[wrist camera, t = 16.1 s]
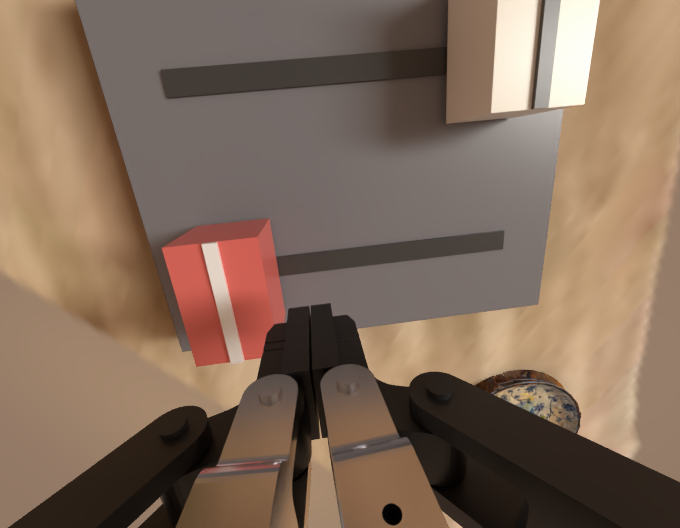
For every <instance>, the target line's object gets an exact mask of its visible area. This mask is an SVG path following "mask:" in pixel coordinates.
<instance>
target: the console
mask: <svg viewBox="0 0 680 528" xmlns="http://www.w3.org/2000/svg"><path fill="white" fill-rule="evenodd" d="M75 2H76V5H77V9H78V12H79V15H80V18H81V22H82V25H83V28H84V32H85V35H86V38H87V41H88V45H89V48H90V51H91V55H92V58H93V61H94V64H95V68H96V71H97V74H98V77H99V81H100V84H101V87H102V91H103V94H104V97H105V100H106V104H107V107H108V110H109V113H110V117H111V120H112V123H113V127H114V130H115V133H116V136H117V140H118V143H119V146H120V149H121V153H122V156H123V159H124V163H125V166H126V169H127V172H128V176H129V179H130V182H131V185H132V189H133V192H134V195H135V199H136V202H137V205H138V208H139V212H140V215H141V218H142V222H143V225H144V228H145V231H146V235H147V238H148V241H149V244H150V248H151V251H152V254H153V258H154V261H155V264H156V267H157V271H158V274H159V277H160V280H161V284H162V287H163V290H164V294H165V297H166V300H167V303H168V307H169V310H170V313H171V316H172V320H173V323H174V326H175V330H176V333H177V336H178V339H179V343H180V346H181V349H182V352H185V351H192V350H191V346H190V343H189V340H188V336H187V333H186V329H185V326H184V323H183V319H182V316H181V312H180V309H179V305H178V302H177V299H176V295H175V292H174V288H173V285H172V282H171V278H170V275H169V271H168V268H167V265H166V261H165V258H164V254H163V251H162V247H164V246H165V245H167V244H169V243H170V242H172V241H174V240H175V239H177V238H178V237H180V236H182V235H183V234H185V233H186V232H188V231H190V230H191V229H193V228H194V227H196V226H202V225H212V224H221V223H230V222H239V221H248V220H257V219H266V218H269V219H270V224H271V230H272V236H273V242H274V248H275V254H276V260H277V266H278V272H279V278H280V284H281V290H282V295H283V301H284V307H285V320H284V323H286V322H287V317H288V309H289V308H295V307H303V306H309V308H310V314H311V305H318V304H326V303H331V309H332V315H333V316H340V315H348V316H349V317H350V318H352V319H353V320H354V321H355V324H356V327H357V329H358V328H365V327H373V326H380V325H388V324H395V323H403V322H410V321H418V320H425V319H433V318H440V317H448V316H456V315H463V314H471V313H478V312H486V311H493V310H501V309H508V308H516V307H523V306H531V305H538V301H539V294H540V286H541V278H542V270H543V263H544V255H545V247H546V240H547V232H548V224H549V216H550V209H551V201H552V193H553V185H554V178H555V170H556V162H557V154H558V147H559V139H560V131H561V123H562V116H563V109H558V110H552V111H547V112H542V113H536V114H531V115H526V116H521V117H514V118H503V119H493V120H482V121H471V122H461V123H450V124H446V98H447V41H448V0H75Z"/></svg>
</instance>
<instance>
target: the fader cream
mask: <svg viewBox="0 0 680 528" xmlns="http://www.w3.org/2000/svg"><path fill="white" fill-rule="evenodd" d="M599 2H600V0H448V41H447V98H446V124H450V123H461V122H471V121H482V120H493V119H503V118H514V117H521V116H526V115H531V114H536V113H542V112H547V111H552V110H558V109H563V108H568V107H573V106H579V105H584V103H585V96H586V89H587V83H588V76H589V69H590V63H591V56H592V49H593V42H594V36H595V29H596V22H597V15H598V9H599Z"/></svg>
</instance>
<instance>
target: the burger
mask: <svg viewBox="0 0 680 528" xmlns="http://www.w3.org/2000/svg"><path fill="white" fill-rule="evenodd" d="M505 374H506V375H505ZM503 375H504V376H503ZM503 375H502V374H501V375H500V374H499V375H496V377H495V376H493V377H492V378H490V379H489V380H484V381H482V382H480V383H479V384H477V385H476V387H478V388H480V389H482V390H484V391H487V392H489V393H491V394H493V395H495V396H497V397H499V398H501V399H504V400H506V401H508V402H510V403H512V404H514V405H516V406H518V407H521V408H523V409H525V410H527V411H529V412H531V413H533V414H536V415H538V416H540V417H542V418H544V419H546V420H548V421H550V422H553V423H555V424H557V425H559V426H561V427H563V428H565V429H567V430H570V431H572V432H574V433H576V434H577V433H578V430H579V428H580V418H581V412H580V411H579V407H578V403H577V402H576V401H575V399H574V398H573V397H572V395H571V394H569V393H568V392H567V391H566V390H565V389H564V388H563V386H562V385H561V384H560V383H559V382H558V381H557V380H556V379H554V378H553V377H551V376H549V375H547V374H545V373H542V372H537V371H533V370H514V371H507V372H506V373H504V372H503ZM494 377H495V378H494Z"/></svg>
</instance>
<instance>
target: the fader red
mask: <svg viewBox="0 0 680 528" xmlns="http://www.w3.org/2000/svg"><path fill="white" fill-rule="evenodd" d="M162 251H163V254H164V258H165V261H166V265H167V268H168V271H169V275H170V278H171V282H172V285H173V288H174V292H175V295H176V299H177V302H178V305H179V309H180V312H181V316H182V319H183V323H184V326H185V329H186V333H187V336H188V340H189V343H190V346H191V350H192V353H193V357H194V360H195V363H196V367H197V366H205V365H212V364H219V363H227V362H231V364H237V363H244V360H249V359H256V358H262V354H263V349H264V344H265V340H266V335H267V332H268V331H269V330H270V329H271V328H272V327H273V325H274V324H278V323H284V320H285V307H284V301H283V295H282V290H281V284H280V278H279V272H278V266H277V260H276V254H275V248H274V242H273V236H272V230H271V224H270V219H269V218H266V219H257V220H248V221H239V222H230V223H221V224H212V225H202V226H196V227H194V228H193V229H191V230H190V231H188V232H186V233H185V234H183V235H182V236H180V237H178V238H177V239H175V240H174V241H172V242H170V243H169V244H167V245H165V246H164V247H162Z"/></svg>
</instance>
